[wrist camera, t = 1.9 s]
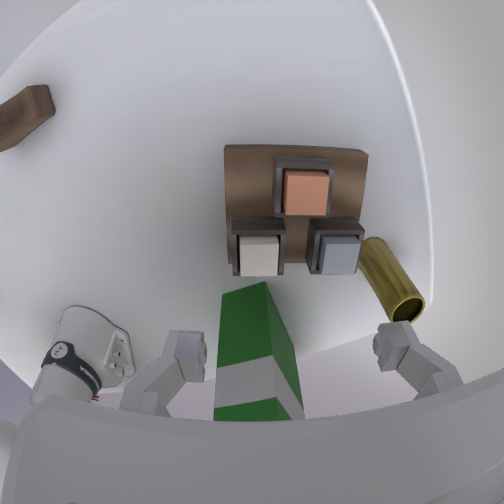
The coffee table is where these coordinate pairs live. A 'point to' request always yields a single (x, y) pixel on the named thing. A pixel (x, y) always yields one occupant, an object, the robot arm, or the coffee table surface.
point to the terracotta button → (305, 191)
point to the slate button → (338, 254)
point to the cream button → (258, 255)
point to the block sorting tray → (271, 197)
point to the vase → (390, 282)
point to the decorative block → (24, 114)
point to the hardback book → (255, 361)
